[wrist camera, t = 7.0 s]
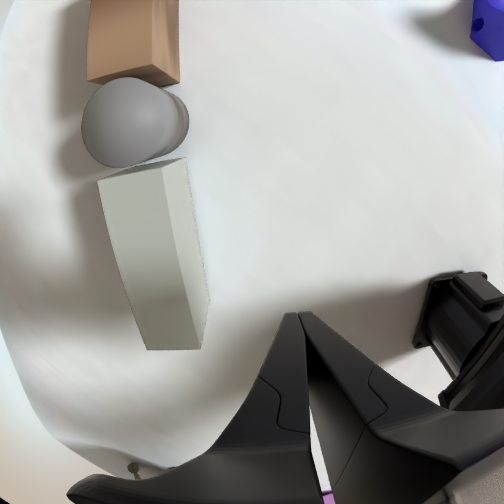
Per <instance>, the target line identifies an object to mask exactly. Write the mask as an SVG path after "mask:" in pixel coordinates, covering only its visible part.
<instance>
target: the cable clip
mask: <svg viewBox="0 0 504 504" xmlns="http://www.w3.org/2000/svg"><path fill="white" fill-rule="evenodd" d="M470 38H471V39H472V40H473V41H474V42H475V43H476V44H477V45H479V46H480V47H481V48H482V49H483V50H484V51H485V52H486V53H487V54H488V55H490V56H491V57H492V58H493V59H494V60H495V61H504V0H474V6H473V18H472V28H471V36H470Z"/></svg>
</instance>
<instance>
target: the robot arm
mask: <svg viewBox="0 0 504 504" xmlns="http://www.w3.org/2000/svg"><path fill="white" fill-rule="evenodd" d="M435 284H436V285H435ZM434 285H435V286H434ZM412 344H413V346H414V348H416V349H417V348H422V347H426V346H430V347H431V348H432V349H433V351H434V352H435V354H436V355H437V357H438V358H439V360H440V361H441V363H442V364H443V366H444V367H445V369H446V370H447V372H448V374H449V375H450V377H451V378H452V380H453V381H452V382H451V383H450V385H449V386H448V387H447V388H446V389H445V390H443V391H442V392H441V393H440V394H439V395H438V399H439V403H440V406H439V405H437V404H435V403H434V402H432V401H430V400H429V399H427V398H425V397H424V396H422V395H420V394H419V393H417V392H415V391H414V390H412V389H411V388H409V387H407V386H406V385H404V384H403V383H401V382H400V381H398V380H397V379H395V378H394V377H393V376H391V375H390V374H389V373H387V372H386V371H384V370H383V369H382V368H381V367H379V366H378V365H377V364H375V363H374V362H373V361H372V360H370V359H369V358H368V357H367V356H365V355H364V354H363V353H362V352H360V351H359V350H358V349H357V348H355V347H354V346H353V345H352V344H350V343H349V342H348V341H347V340H345V339H344V338H343V337H342V336H340V335H339V334H338V333H337V332H335V331H334V330H333V329H332V328H330V327H329V326H328V325H327V324H326V323H324V322H323V321H322V320H321V319H319V318H318V317H317V316H316V315H314V314H313V313H312V312H310V311H306V312H299V313H298V314H297V313H296V312H293V313H285V314H284V316H283V318H282V321H281V323H280V325H279V328H278V330H277V332H276V335H275V337H274V339H273V342H272V344H271V346H270V349H269V351H268V353H267V355H266V358H265V360H264V362H263V364H262V367H261V369H260V371H259V373H258V376H257V378H256V380H255V382H254V384H253V386H252V388H251V390H250V392H249V394H248V396H247V398H246V399H245V401H244V402H243V404H242V405H241V407H240V409H239V410H238V412H237V413H236V414H235V416H234V417H233V419H232V420H231V421H230V423H229V424H228V425H227V427H226V428H225V429H224V431H223V432H222V434H221V435H220V436H219V438H218V439H217V440H216V441H215V443H214V444H213V445H212V446H211V447H210V448H209V449H208V450H207V451H206V452H204V453H203V454H202V455H200V456H198V457H196V458H194V459H192V460H190V461H188V462H186V463H184V464H182V465H180V466H178V467H175V468H173V469H171V470H169V471H167V472H165V473H162V474H160V475H158V476H155V477H152V478H149V479H142V480H129V479H122V478H118V477H113V476H109V475H104V474H93V475H90V476H88V477H86V478H84V479H82V480H80V481H79V482H77V483H76V484H74V485H73V486H72V487H71V488H70V489H69V491H68V492H67V497H68V498H69V499H70V500H71V501H72V502H73V503H75V504H325V503H324V499H323V495H322V491H321V487H320V483H319V479H318V475H317V471H316V468H315V464H314V460H313V456H312V452H311V438H310V409H311V413H312V416H313V420H314V424H315V428H316V432H317V435H318V439H319V443H320V447H321V451H322V454H323V458H324V462H325V466H326V470H327V474H328V478H329V481H330V485H331V489H332V491H333V492H332V494H333V498H334V502H335V504H504V294H502V293H501V292H500V291H499V290H498V289H497V288H496V287H494V286H493V285H492V284H491V283H490V282H488V281H487V274H486V273H484V272H478V273H477V272H469V273H461V274H456V275H454V276H448V277H439V278H434V279H432V280H431V281H430V283H429V286H428V290H427V294H426V298H425V301H424V305H423V309H422V312H421V316H420V319H419V323H418V326H417V329H416V332H415V336H414V339H413V342H412ZM309 405H310V409H309ZM0 504H9V503H8V502H6V501H5V500H3V499H2V498H0Z"/></svg>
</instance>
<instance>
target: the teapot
mask: <svg viewBox="0 0 504 504" xmlns="http://www.w3.org/2000/svg"><path fill="white" fill-rule="evenodd" d="M323 499H324V503H325V504H335V502H334V498H333V494H332V493H330V494H328V495H325V496H323Z"/></svg>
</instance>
